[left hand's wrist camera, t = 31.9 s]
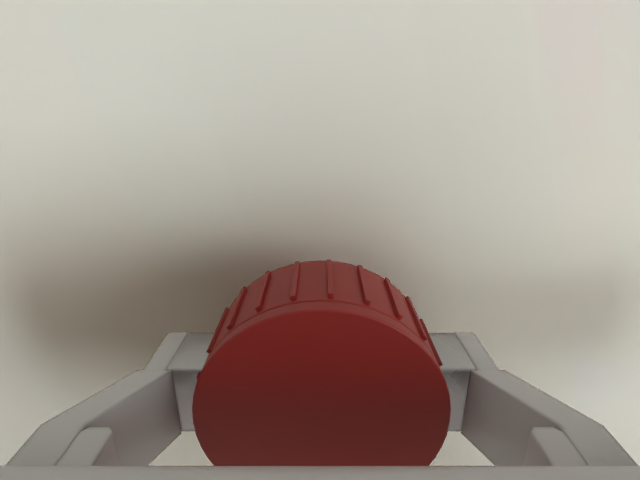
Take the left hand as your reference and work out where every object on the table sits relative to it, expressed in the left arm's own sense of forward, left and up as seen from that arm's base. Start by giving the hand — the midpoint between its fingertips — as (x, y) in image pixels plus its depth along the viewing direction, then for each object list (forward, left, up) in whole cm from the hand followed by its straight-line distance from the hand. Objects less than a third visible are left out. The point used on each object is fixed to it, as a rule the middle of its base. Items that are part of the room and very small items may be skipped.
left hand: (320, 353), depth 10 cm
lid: (0, 0, +2) cm, 2 cm away
